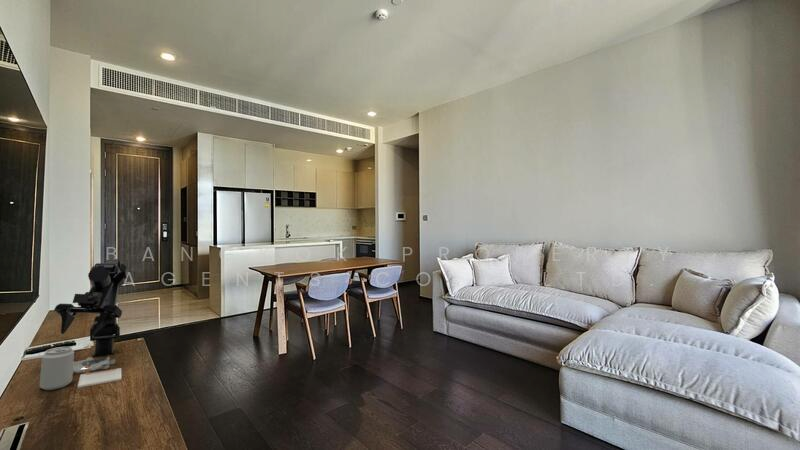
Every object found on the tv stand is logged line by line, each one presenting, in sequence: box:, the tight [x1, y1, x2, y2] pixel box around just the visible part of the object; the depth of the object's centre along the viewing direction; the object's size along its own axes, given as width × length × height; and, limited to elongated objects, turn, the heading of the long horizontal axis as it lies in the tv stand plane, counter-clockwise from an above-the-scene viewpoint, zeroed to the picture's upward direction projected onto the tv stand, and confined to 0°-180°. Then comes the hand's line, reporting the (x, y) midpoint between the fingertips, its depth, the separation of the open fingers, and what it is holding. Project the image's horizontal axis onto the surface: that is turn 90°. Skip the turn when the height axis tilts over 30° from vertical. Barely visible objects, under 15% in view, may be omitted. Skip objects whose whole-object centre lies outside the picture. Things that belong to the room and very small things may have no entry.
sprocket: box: [73, 355, 116, 374], centre depth 127 cm, size 16×16×2 cm
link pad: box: [77, 367, 122, 389], centre depth 118 cm, size 11×11×1 cm
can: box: [39, 346, 75, 391], centre depth 111 cm, size 8×8×12 cm
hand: (77, 333), depth 119 cm, fingers open, 9 cm apart
